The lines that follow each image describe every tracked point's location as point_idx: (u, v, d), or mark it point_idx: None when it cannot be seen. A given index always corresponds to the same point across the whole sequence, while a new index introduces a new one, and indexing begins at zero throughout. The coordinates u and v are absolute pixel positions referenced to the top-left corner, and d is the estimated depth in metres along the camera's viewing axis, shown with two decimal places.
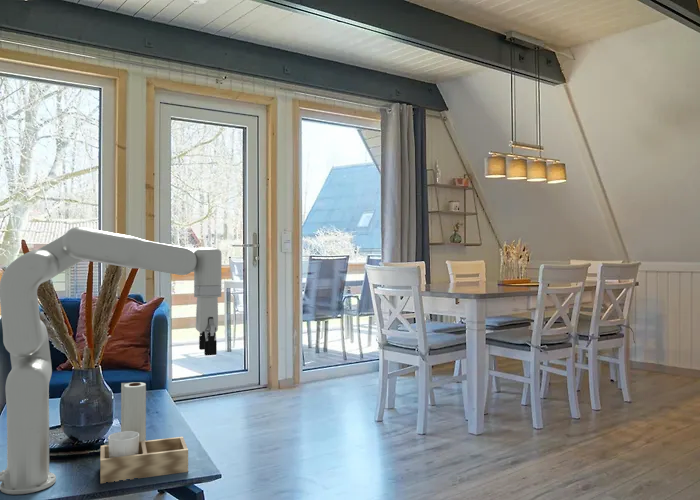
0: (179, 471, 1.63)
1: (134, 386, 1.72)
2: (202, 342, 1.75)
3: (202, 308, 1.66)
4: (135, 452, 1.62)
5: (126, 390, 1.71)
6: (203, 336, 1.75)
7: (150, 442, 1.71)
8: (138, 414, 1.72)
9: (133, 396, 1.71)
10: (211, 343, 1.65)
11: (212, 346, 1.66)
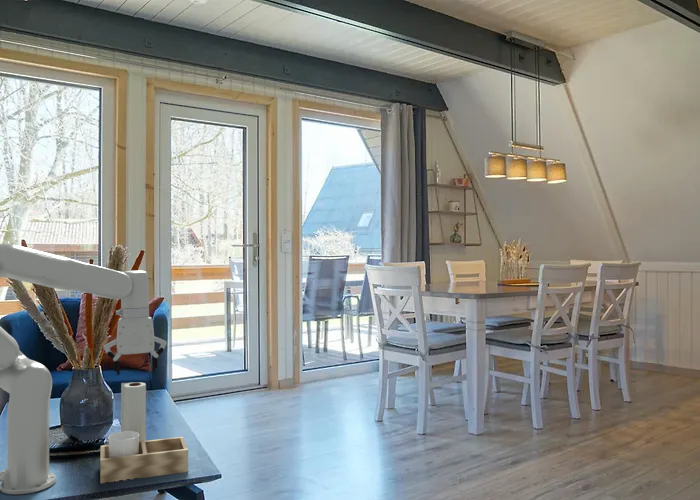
0: (179, 471, 1.63)
1: (134, 386, 1.72)
2: (119, 367, 1.72)
3: (152, 328, 1.74)
4: (135, 452, 1.62)
5: (126, 390, 1.71)
6: (119, 361, 1.72)
7: (150, 442, 1.71)
8: (138, 414, 1.72)
9: (133, 395, 1.71)
10: (156, 359, 1.77)
11: None
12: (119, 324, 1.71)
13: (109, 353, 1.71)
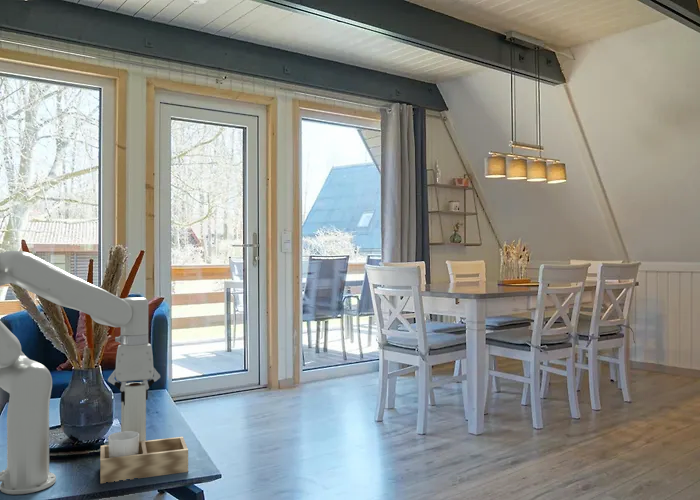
0: (179, 471, 1.63)
1: (134, 386, 1.72)
2: None
3: (151, 355, 1.74)
4: (135, 452, 1.62)
5: (126, 390, 1.71)
6: None
7: (150, 442, 1.71)
8: (138, 414, 1.72)
9: (133, 395, 1.71)
10: None
11: None
12: (118, 351, 1.71)
13: (116, 383, 1.72)
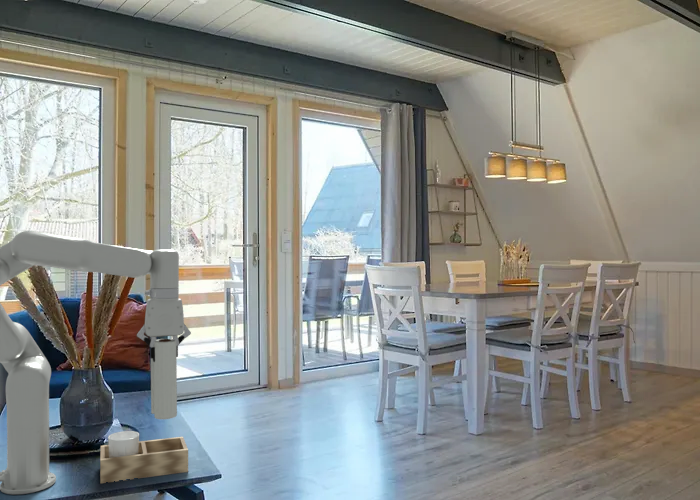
0: (179, 471, 1.63)
1: (164, 342, 1.64)
2: None
3: (182, 309, 1.66)
4: (135, 452, 1.62)
5: (156, 346, 1.64)
6: None
7: (150, 442, 1.71)
8: (169, 371, 1.64)
9: (163, 351, 1.63)
10: None
11: None
12: (148, 305, 1.63)
13: (146, 339, 1.64)
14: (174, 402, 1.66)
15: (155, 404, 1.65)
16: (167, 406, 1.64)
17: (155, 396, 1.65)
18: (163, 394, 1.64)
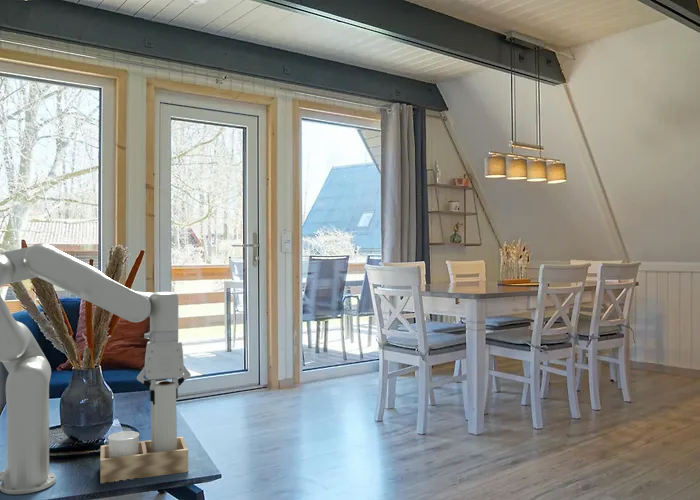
0: (179, 471, 1.63)
1: (164, 385, 1.64)
2: None
3: (182, 352, 1.67)
4: (135, 452, 1.62)
5: (156, 389, 1.64)
6: None
7: (150, 442, 1.71)
8: (169, 414, 1.64)
9: (163, 395, 1.63)
10: None
11: None
12: (148, 348, 1.63)
13: (146, 382, 1.64)
14: (174, 444, 1.66)
15: (155, 447, 1.65)
16: (167, 449, 1.64)
17: (155, 439, 1.65)
18: (163, 437, 1.64)
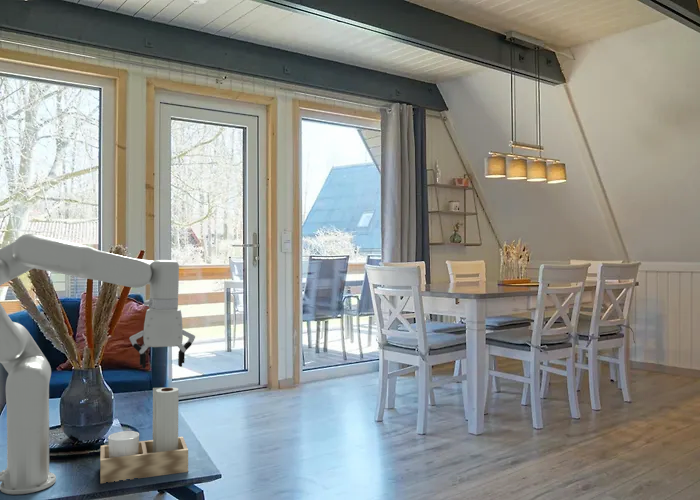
0: (179, 471, 1.63)
1: (167, 391, 1.66)
2: (145, 360, 1.64)
3: (181, 320, 1.66)
4: (135, 452, 1.62)
5: (158, 395, 1.65)
6: (145, 353, 1.64)
7: (150, 442, 1.71)
8: (171, 420, 1.66)
9: (165, 401, 1.65)
10: None
11: None
12: (147, 315, 1.63)
13: (135, 345, 1.63)
14: None
15: None
16: None
17: (157, 445, 1.66)
18: (165, 443, 1.65)
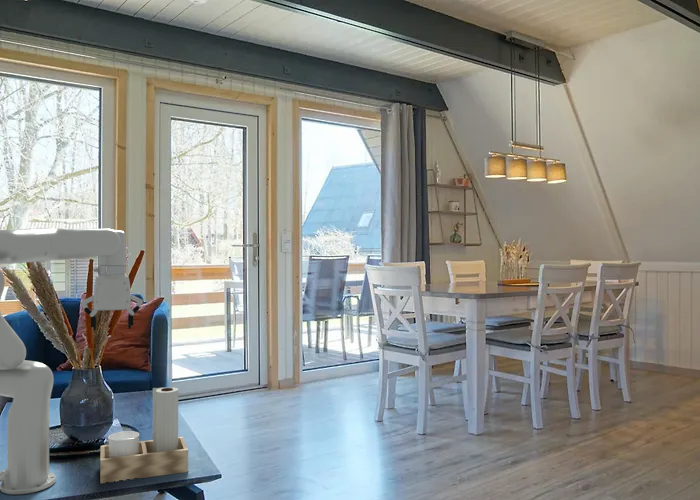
0: (179, 471, 1.63)
1: (166, 391, 1.66)
2: None
3: (128, 285, 1.79)
4: (135, 453, 1.62)
5: (158, 395, 1.65)
6: (95, 317, 1.78)
7: (150, 442, 1.71)
8: (171, 420, 1.66)
9: (165, 401, 1.65)
10: None
11: None
12: (96, 281, 1.76)
13: (86, 309, 1.76)
14: None
15: None
16: None
17: (157, 445, 1.66)
18: (165, 444, 1.65)
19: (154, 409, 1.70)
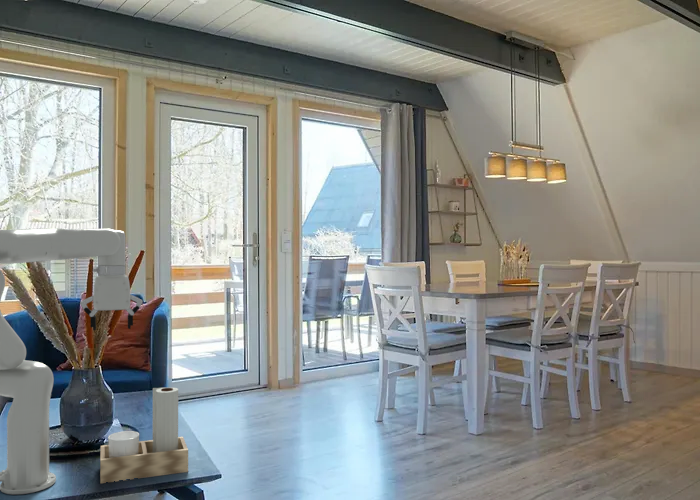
0: (179, 471, 1.63)
1: (166, 391, 1.66)
2: (95, 323, 1.77)
3: (128, 285, 1.79)
4: (135, 452, 1.62)
5: (158, 395, 1.65)
6: (95, 317, 1.78)
7: (150, 442, 1.71)
8: (171, 420, 1.66)
9: (165, 401, 1.65)
10: (132, 317, 1.82)
11: None
12: (96, 281, 1.76)
13: (86, 309, 1.76)
14: None
15: None
16: None
17: (157, 445, 1.66)
18: (165, 444, 1.65)
19: (154, 409, 1.70)
